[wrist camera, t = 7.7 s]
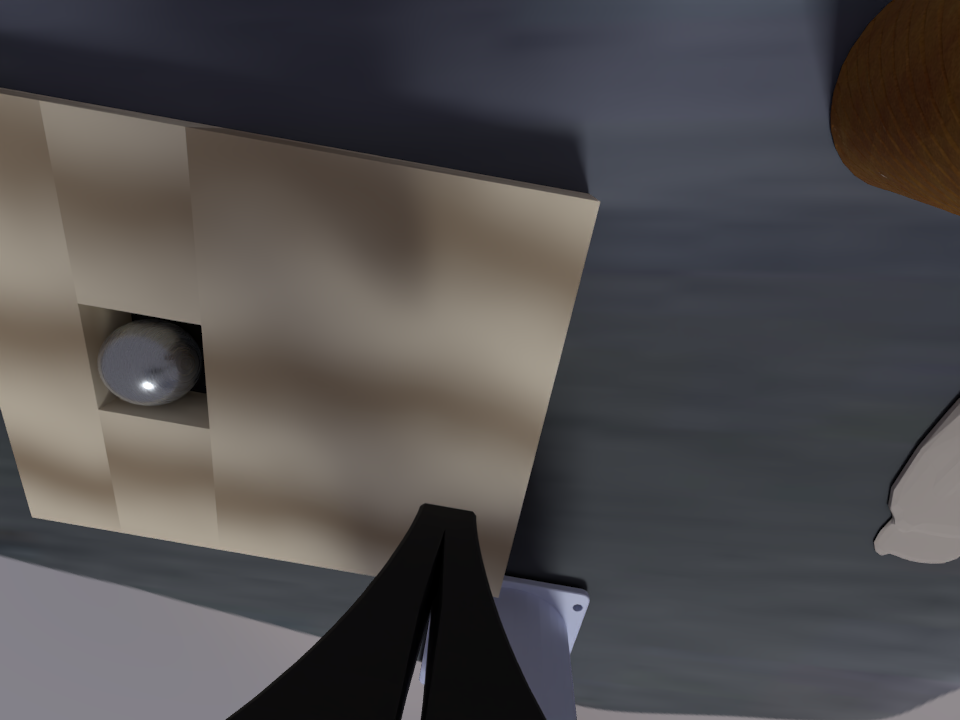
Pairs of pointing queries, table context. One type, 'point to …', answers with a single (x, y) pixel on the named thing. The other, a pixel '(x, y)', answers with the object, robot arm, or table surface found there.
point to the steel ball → (149, 362)
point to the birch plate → (276, 333)
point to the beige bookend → (927, 499)
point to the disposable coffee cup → (904, 103)
